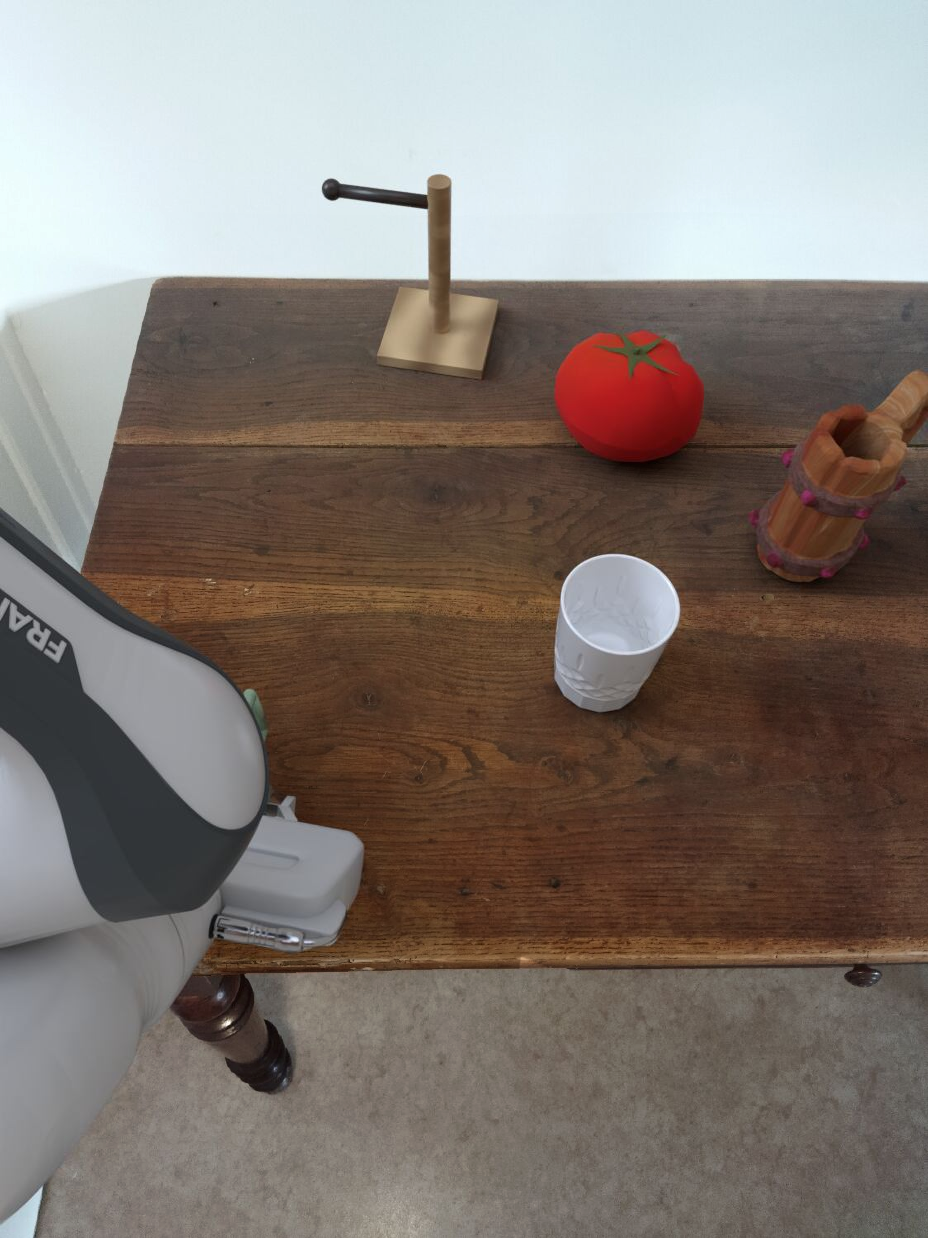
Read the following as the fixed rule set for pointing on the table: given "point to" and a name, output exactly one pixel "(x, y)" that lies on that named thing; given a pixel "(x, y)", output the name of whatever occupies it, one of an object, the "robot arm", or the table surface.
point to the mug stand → (430, 294)
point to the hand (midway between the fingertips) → (227, 794)
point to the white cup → (612, 629)
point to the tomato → (629, 396)
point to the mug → (838, 484)
